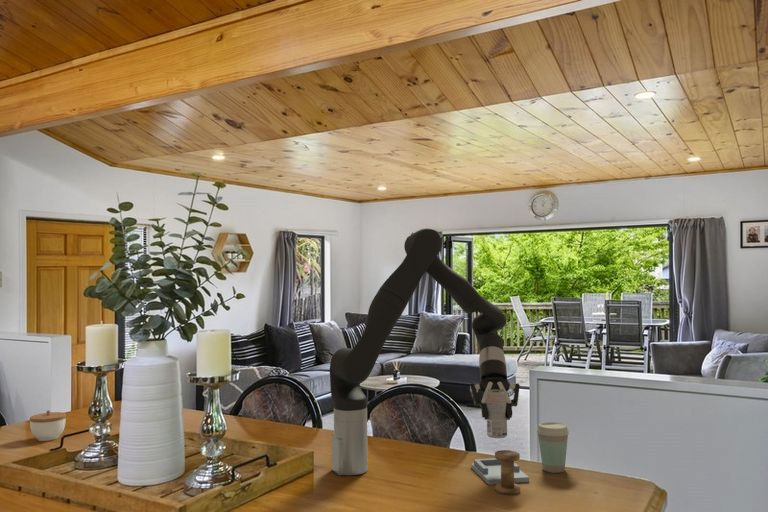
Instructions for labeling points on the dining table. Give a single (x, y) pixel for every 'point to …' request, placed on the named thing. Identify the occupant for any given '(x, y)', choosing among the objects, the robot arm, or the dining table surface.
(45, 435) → the lidded jar
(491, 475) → the notched board
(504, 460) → the bobbin
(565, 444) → the coffee cup
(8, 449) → the dining table surface
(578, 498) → the dining table surface
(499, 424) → the energy drink
